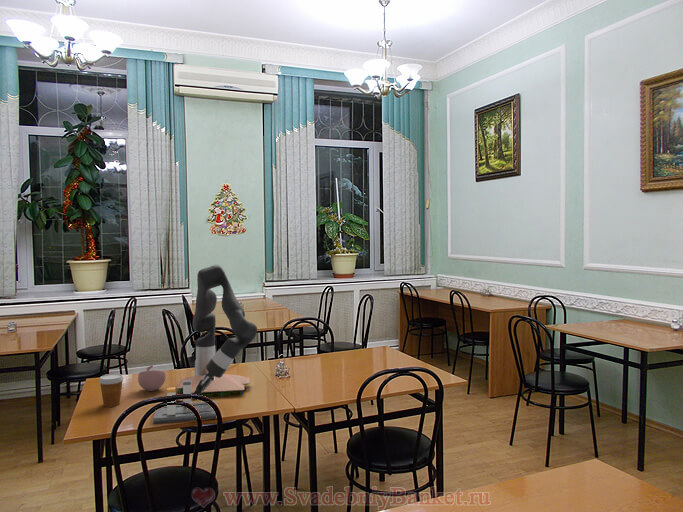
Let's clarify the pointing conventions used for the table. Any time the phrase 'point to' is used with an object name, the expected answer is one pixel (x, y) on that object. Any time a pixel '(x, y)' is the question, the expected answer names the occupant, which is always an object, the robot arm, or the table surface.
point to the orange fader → (171, 408)
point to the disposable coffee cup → (111, 389)
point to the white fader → (187, 390)
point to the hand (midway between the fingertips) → (193, 397)
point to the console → (184, 413)
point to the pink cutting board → (218, 383)
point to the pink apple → (151, 379)
